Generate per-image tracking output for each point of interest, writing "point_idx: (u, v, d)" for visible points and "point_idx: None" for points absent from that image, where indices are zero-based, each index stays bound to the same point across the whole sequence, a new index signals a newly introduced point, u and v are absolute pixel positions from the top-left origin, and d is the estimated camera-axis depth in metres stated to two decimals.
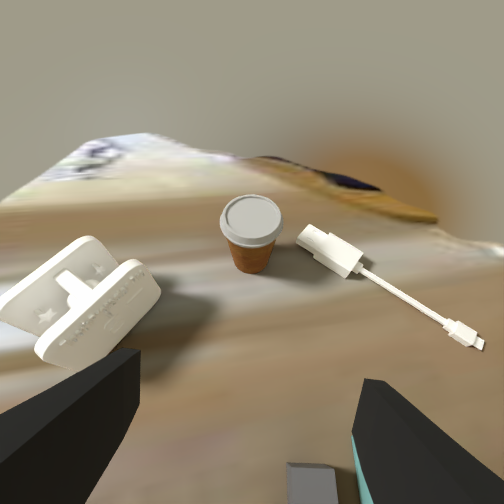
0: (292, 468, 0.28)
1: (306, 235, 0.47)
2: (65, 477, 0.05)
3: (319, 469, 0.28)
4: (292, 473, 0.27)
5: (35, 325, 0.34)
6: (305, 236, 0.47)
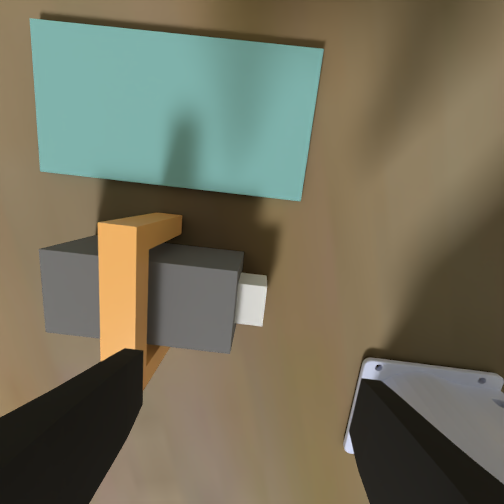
0: (47, 330, 0.14)
1: None
2: (69, 477, 0.05)
3: (42, 279, 0.13)
4: (55, 331, 0.14)
5: None
6: None
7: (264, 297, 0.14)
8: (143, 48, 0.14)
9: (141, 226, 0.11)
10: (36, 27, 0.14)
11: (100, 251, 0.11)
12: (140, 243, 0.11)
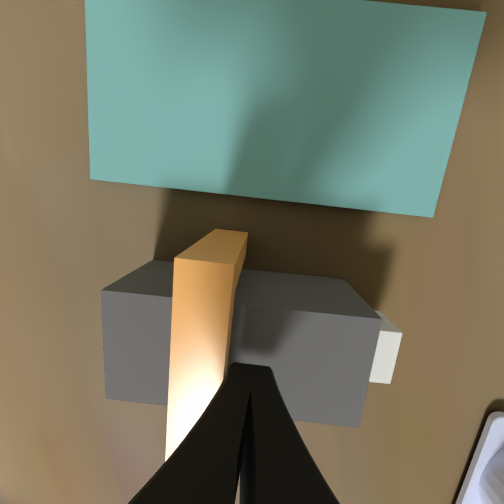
0: (108, 396, 0.10)
1: None
2: None
3: (104, 330, 0.10)
4: (118, 397, 0.10)
5: None
6: None
7: (396, 346, 0.11)
8: (237, 13, 0.10)
9: (235, 261, 0.07)
10: None
11: (173, 299, 0.07)
12: (233, 286, 0.07)
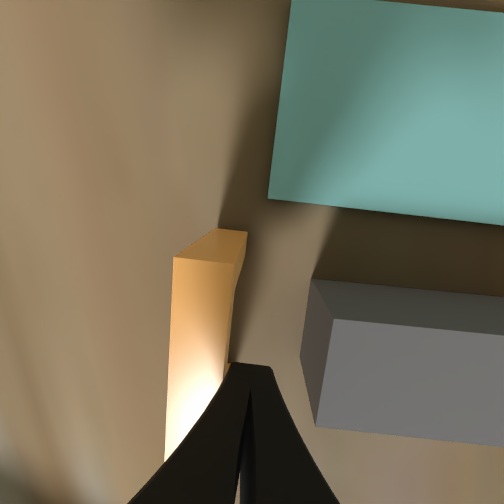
0: (317, 424, 0.10)
1: None
2: None
3: (329, 359, 0.09)
4: (328, 424, 0.10)
5: None
6: None
7: None
8: (447, 33, 0.10)
9: (235, 261, 0.07)
10: (299, 4, 0.10)
11: (173, 299, 0.07)
12: (232, 286, 0.07)
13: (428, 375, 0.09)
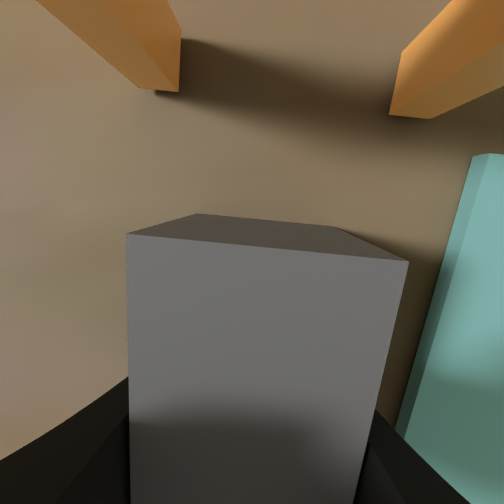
0: (133, 239, 0.04)
1: None
2: (121, 484, 0.05)
3: (308, 256, 0.04)
4: (133, 263, 0.04)
5: None
6: None
7: None
8: None
9: None
10: None
11: None
12: None
13: (270, 437, 0.05)
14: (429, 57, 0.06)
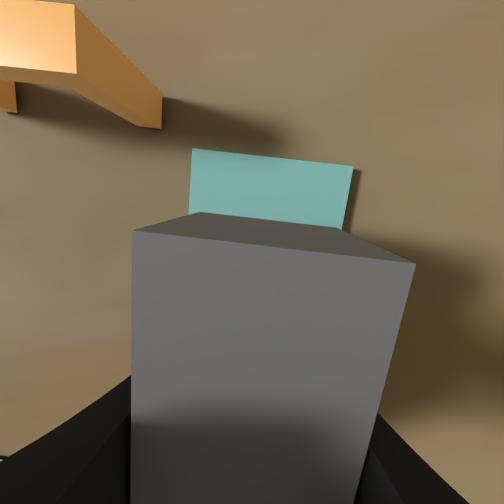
0: (139, 236, 0.04)
1: None
2: (123, 484, 0.05)
3: (315, 256, 0.04)
4: (139, 260, 0.04)
5: None
6: None
7: None
8: None
9: (86, 80, 0.07)
10: (344, 172, 0.13)
11: (31, 3, 0.07)
12: (60, 76, 0.07)
13: (272, 437, 0.05)
14: None
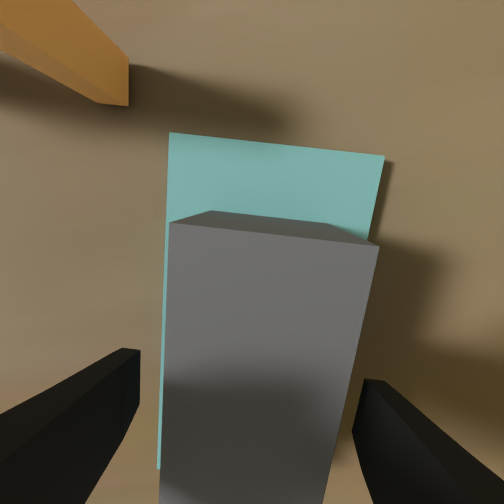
0: (174, 227, 0.06)
1: None
2: (65, 477, 0.05)
3: (304, 241, 0.06)
4: (173, 245, 0.06)
5: None
6: None
7: None
8: None
9: None
10: (372, 164, 0.09)
11: None
12: None
13: (273, 383, 0.06)
14: None
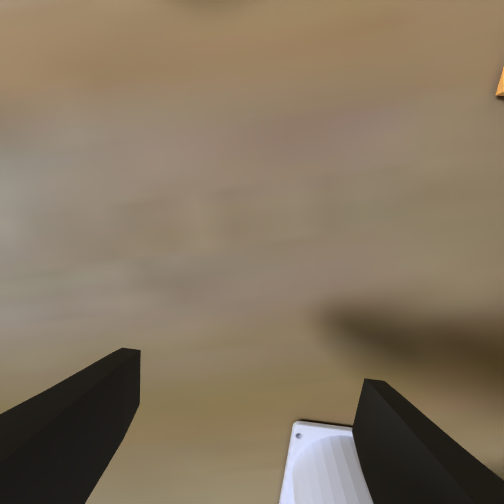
0: None
1: None
2: (65, 476, 0.05)
3: None
4: None
5: None
6: None
7: None
8: None
9: None
10: None
11: None
12: None
13: None
14: None
